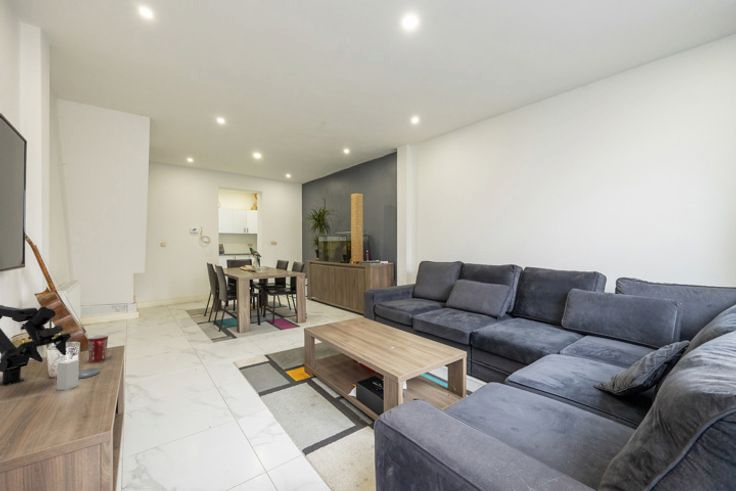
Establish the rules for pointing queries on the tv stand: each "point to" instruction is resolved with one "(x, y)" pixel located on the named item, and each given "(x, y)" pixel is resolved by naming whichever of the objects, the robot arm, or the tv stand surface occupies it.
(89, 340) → the mug
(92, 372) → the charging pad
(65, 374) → the block
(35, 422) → the tv stand surface
